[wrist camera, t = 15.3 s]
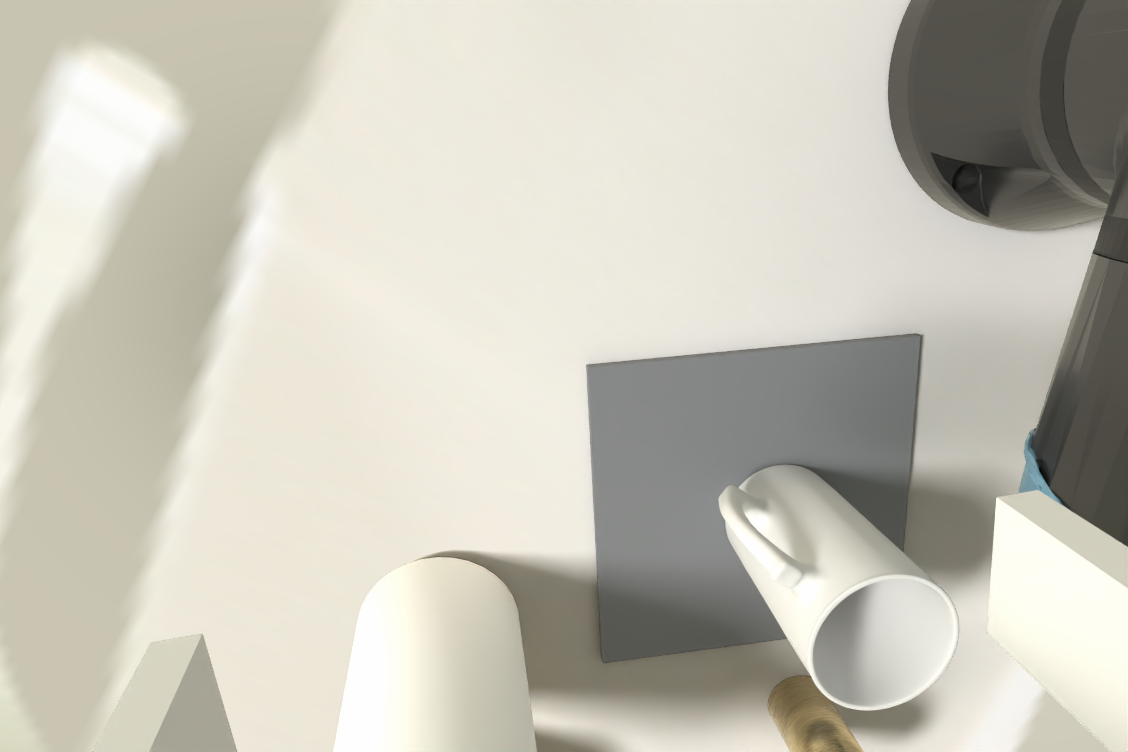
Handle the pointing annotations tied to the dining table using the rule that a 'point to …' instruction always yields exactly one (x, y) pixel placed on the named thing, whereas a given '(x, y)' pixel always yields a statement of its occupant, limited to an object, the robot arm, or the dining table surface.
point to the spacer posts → (809, 718)
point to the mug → (840, 589)
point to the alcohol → (437, 665)
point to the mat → (731, 474)
